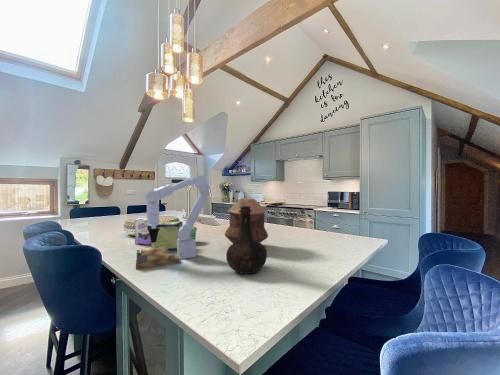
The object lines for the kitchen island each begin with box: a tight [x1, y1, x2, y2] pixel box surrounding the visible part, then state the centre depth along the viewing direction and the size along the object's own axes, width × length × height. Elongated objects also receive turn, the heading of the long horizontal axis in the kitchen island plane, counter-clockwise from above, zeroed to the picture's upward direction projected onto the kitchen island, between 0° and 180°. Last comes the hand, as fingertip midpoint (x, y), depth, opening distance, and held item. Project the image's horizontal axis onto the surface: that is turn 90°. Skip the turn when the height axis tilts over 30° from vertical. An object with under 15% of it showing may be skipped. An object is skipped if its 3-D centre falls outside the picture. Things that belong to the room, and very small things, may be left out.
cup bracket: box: [136, 249, 147, 263], centre depth 109 cm, size 4×6×4 cm
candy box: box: [134, 217, 152, 246], centre depth 154 cm, size 14×6×16 cm, turn 80°
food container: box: [190, 225, 198, 240], centre depth 155 cm, size 12×6×10 cm, turn 168°
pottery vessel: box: [224, 197, 269, 244], centre depth 139 cm, size 26×26×30 cm
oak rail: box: [140, 246, 169, 261], centre depth 112 cm, size 12×4×5 cm, turn 115°
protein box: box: [151, 221, 184, 252], centre depth 141 cm, size 10×16×16 cm
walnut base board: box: [135, 253, 180, 270], centre depth 112 cm, size 19×7×2 cm, turn 115°
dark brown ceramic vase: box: [225, 206, 268, 274], centre depth 103 cm, size 18×18×28 cm
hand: (153, 240), depth 120 cm, fingers open, 7 cm apart
